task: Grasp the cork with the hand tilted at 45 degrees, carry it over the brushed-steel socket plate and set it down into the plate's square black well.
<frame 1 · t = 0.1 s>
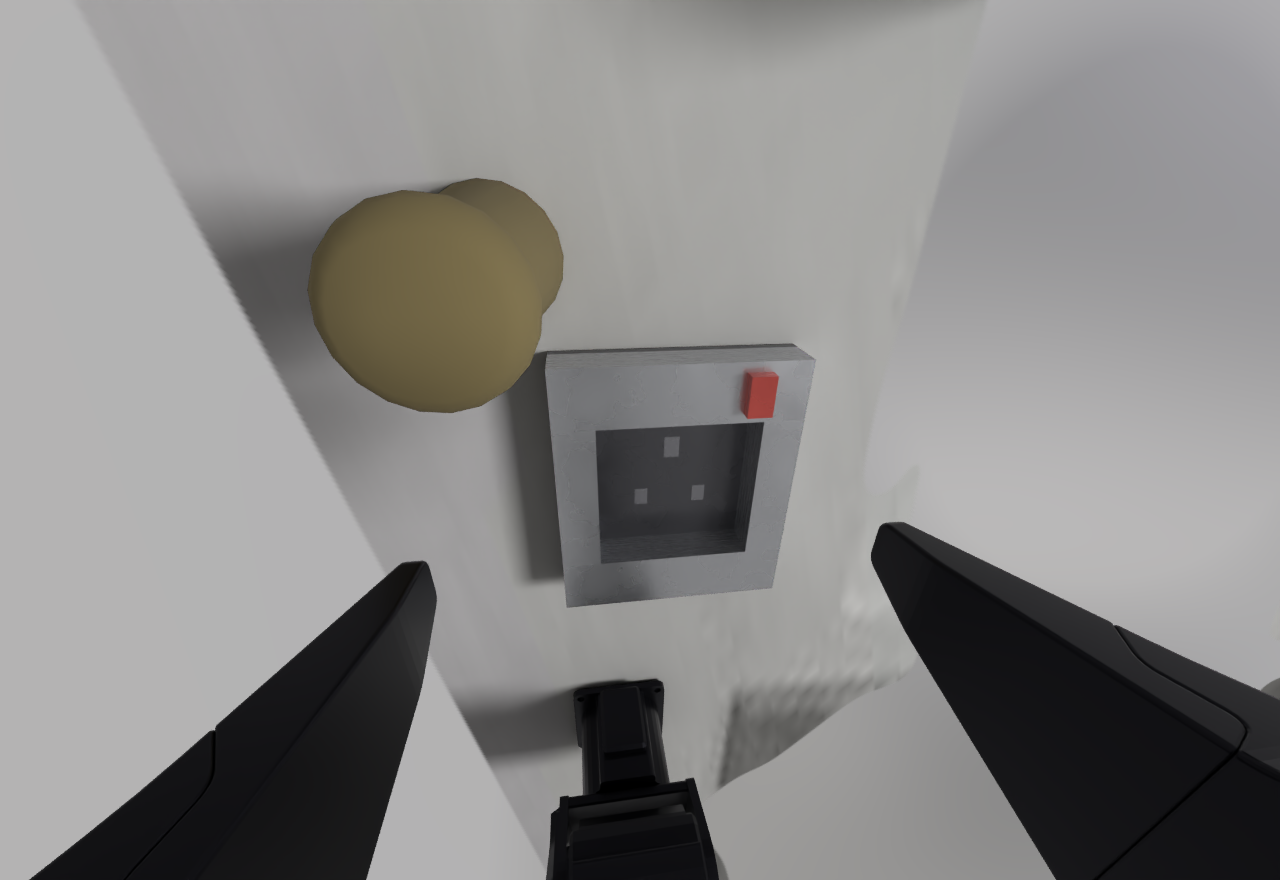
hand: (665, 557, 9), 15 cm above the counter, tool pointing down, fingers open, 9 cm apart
socket plate: (668, 471, 26), on the counter
cork: (491, 259, 20), on the counter
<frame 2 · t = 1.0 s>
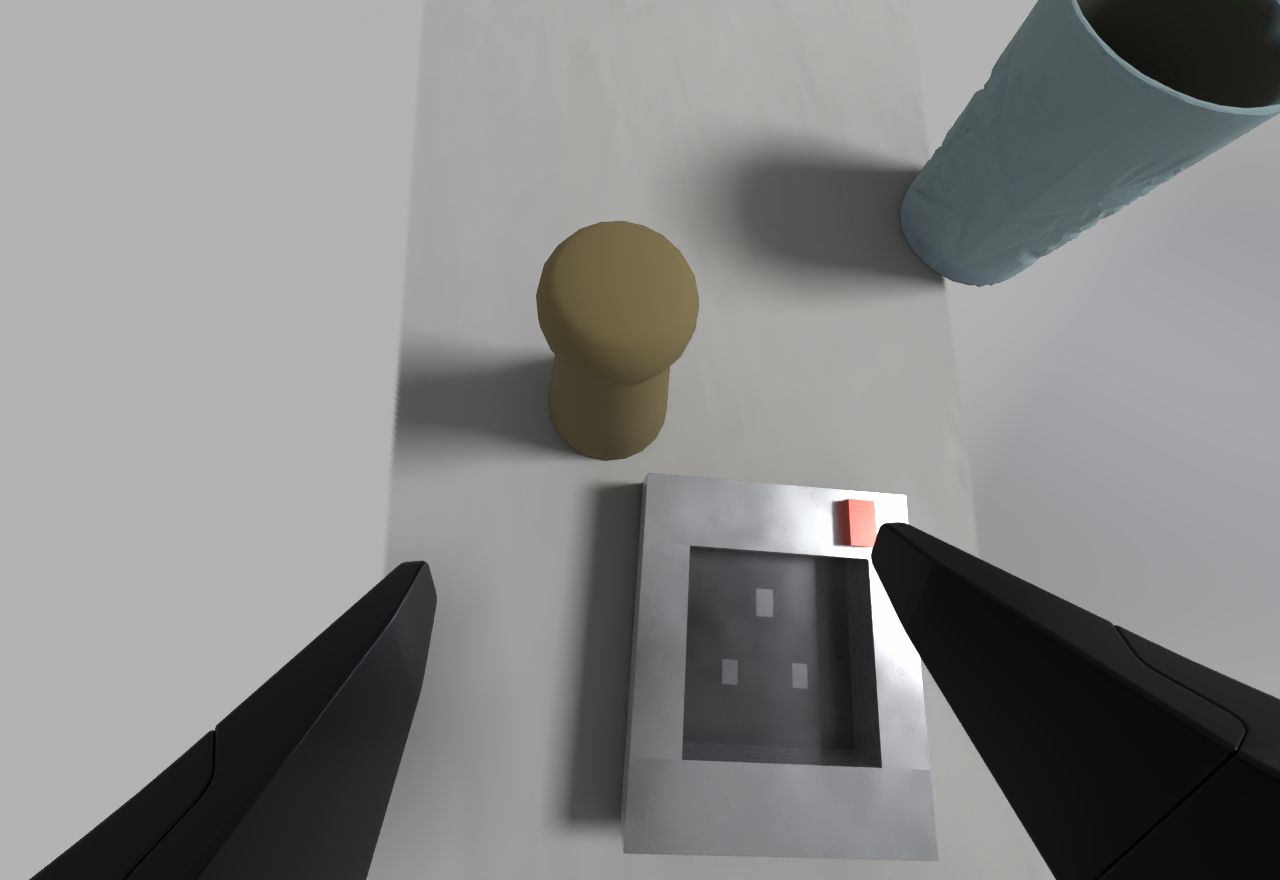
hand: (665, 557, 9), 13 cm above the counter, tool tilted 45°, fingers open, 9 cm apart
socket plate: (760, 643, 22), on the counter
cork: (608, 404, 24), on the counter
teal cup: (957, 230, 30), on the counter
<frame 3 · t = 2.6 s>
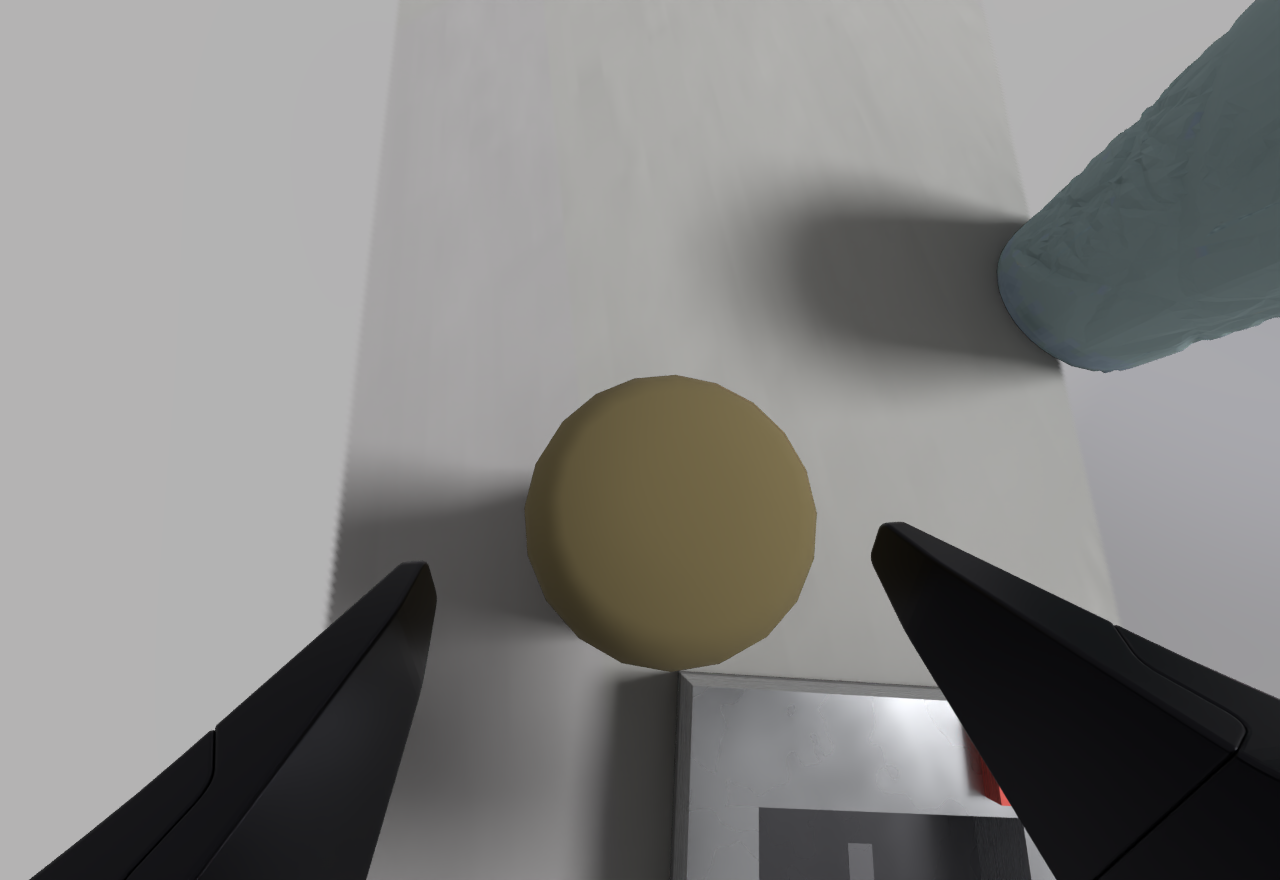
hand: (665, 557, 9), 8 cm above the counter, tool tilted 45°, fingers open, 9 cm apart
cork: (630, 550, 18), on the counter
teal cup: (1068, 297, 23), on the counter
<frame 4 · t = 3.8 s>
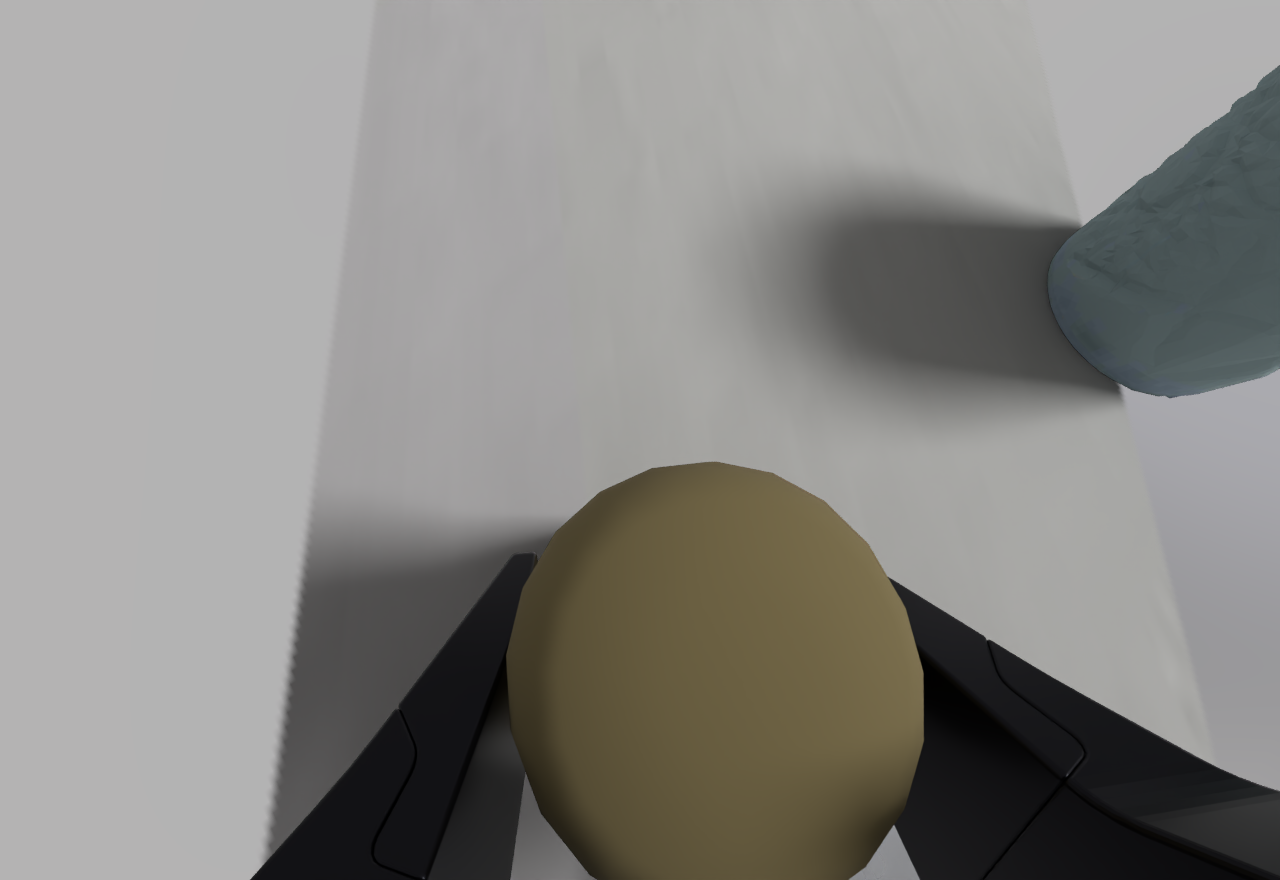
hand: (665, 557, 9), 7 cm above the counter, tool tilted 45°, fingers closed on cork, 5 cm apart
cork: (639, 610, 15), on the counter, touching gripper
teal cup: (1126, 312, 21), on the counter
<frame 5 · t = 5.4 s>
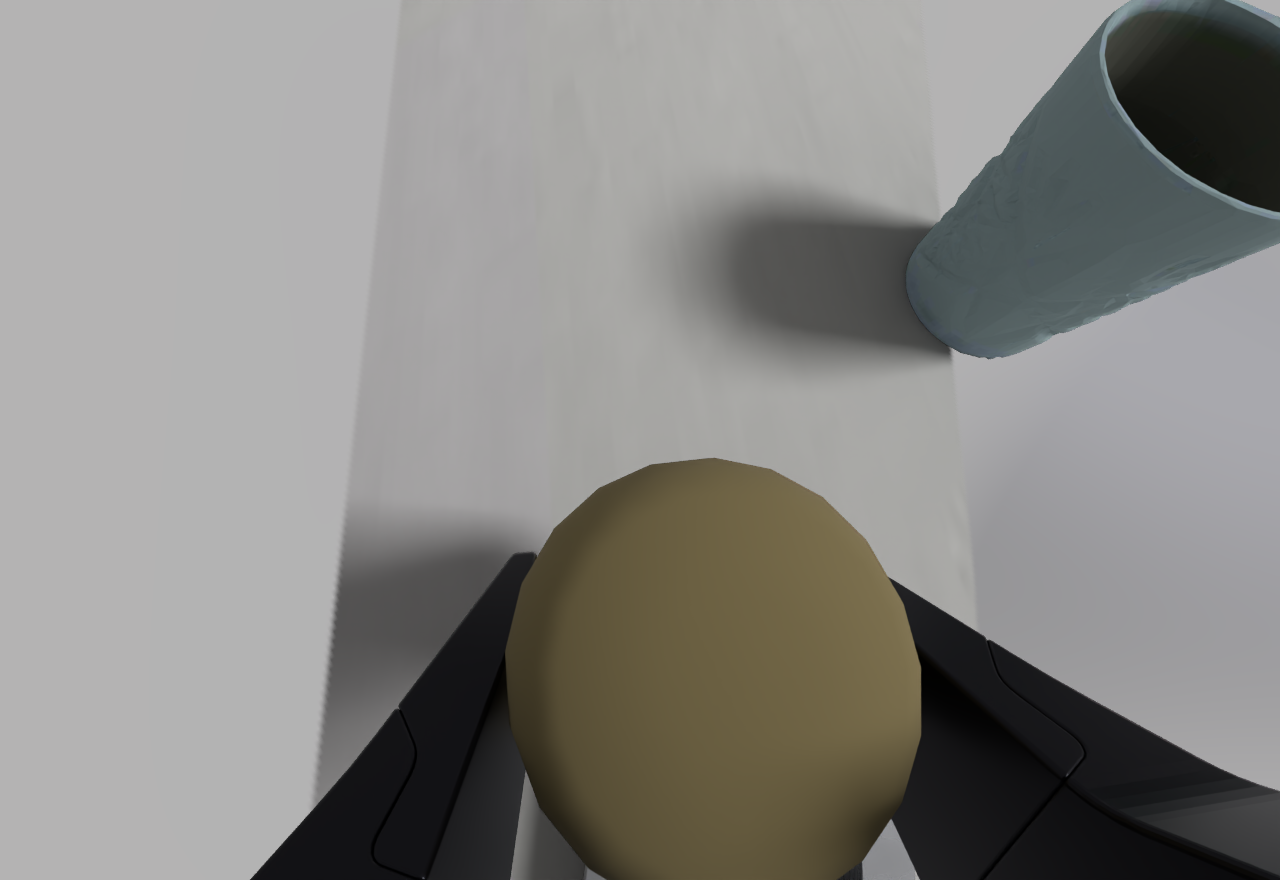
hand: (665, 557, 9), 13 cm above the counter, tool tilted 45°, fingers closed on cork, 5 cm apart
socket plate: (737, 769, 20), on the counter
cork: (638, 608, 15), point 6 cm above the counter, touching gripper
teal cup: (967, 294, 27), on the counter
when the fingers open (9 cm above the counter, at t = 7.3 s): cork drops 2 cm, resting on socket plate.
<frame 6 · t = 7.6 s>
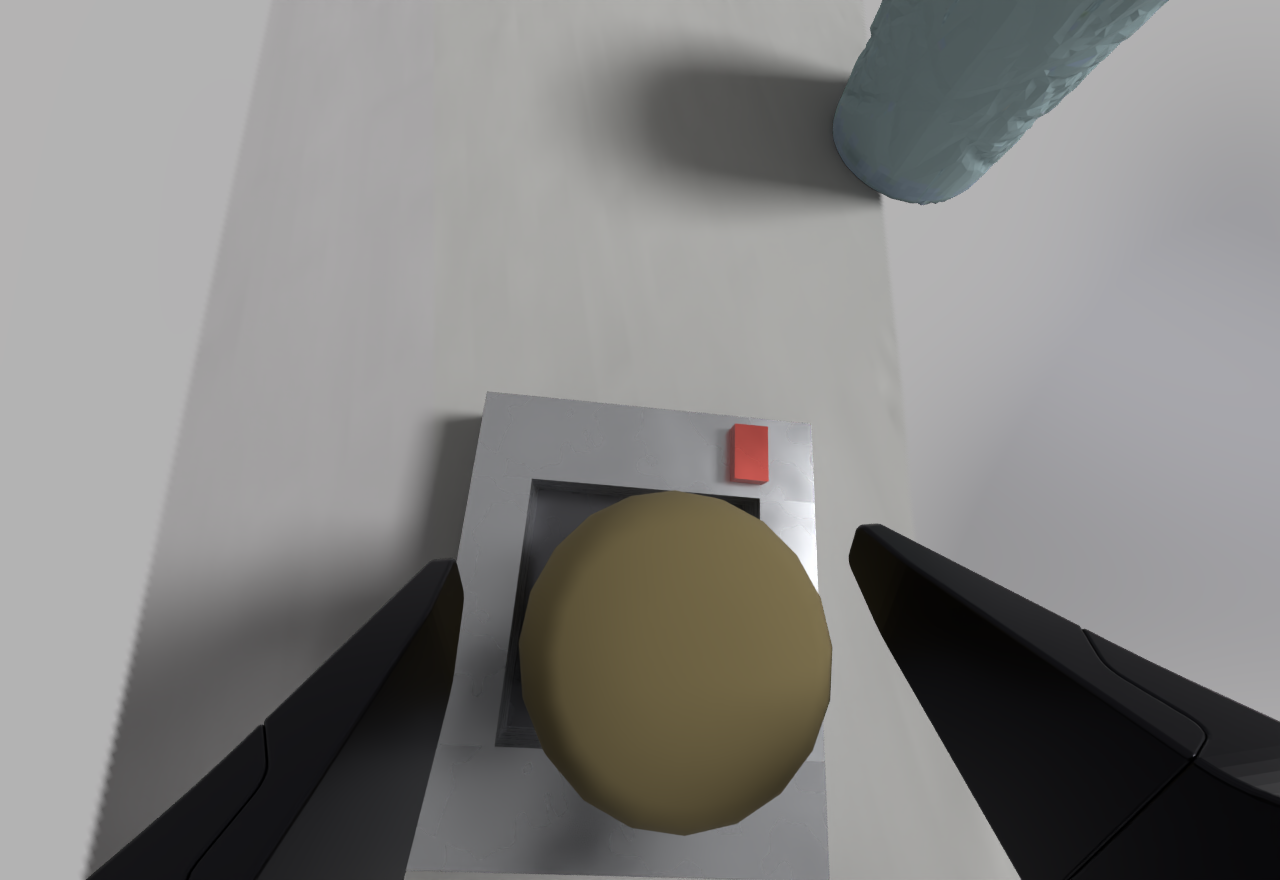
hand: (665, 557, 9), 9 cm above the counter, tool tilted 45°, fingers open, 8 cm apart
socket plate: (633, 606, 17), on the counter
cork: (629, 608, 17), resting on socket plate
teal cup: (899, 145, 26), on the counter
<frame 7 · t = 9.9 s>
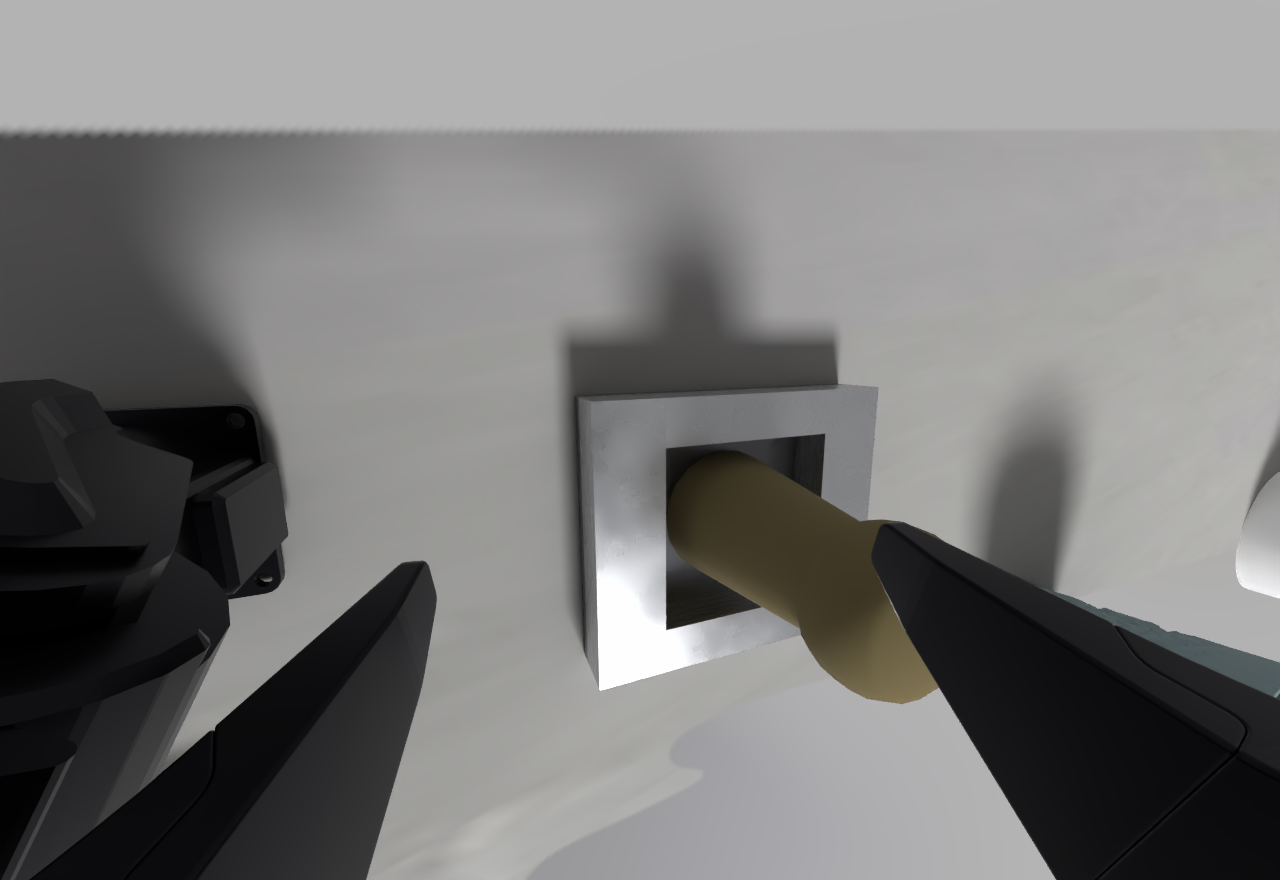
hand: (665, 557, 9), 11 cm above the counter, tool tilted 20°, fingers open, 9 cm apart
honey pot: (1265, 529, 48), on the counter
socket plate: (719, 511, 23), on the counter
cork: (721, 510, 23), resting on socket plate
teal cup: (1009, 633, 34), on the counter
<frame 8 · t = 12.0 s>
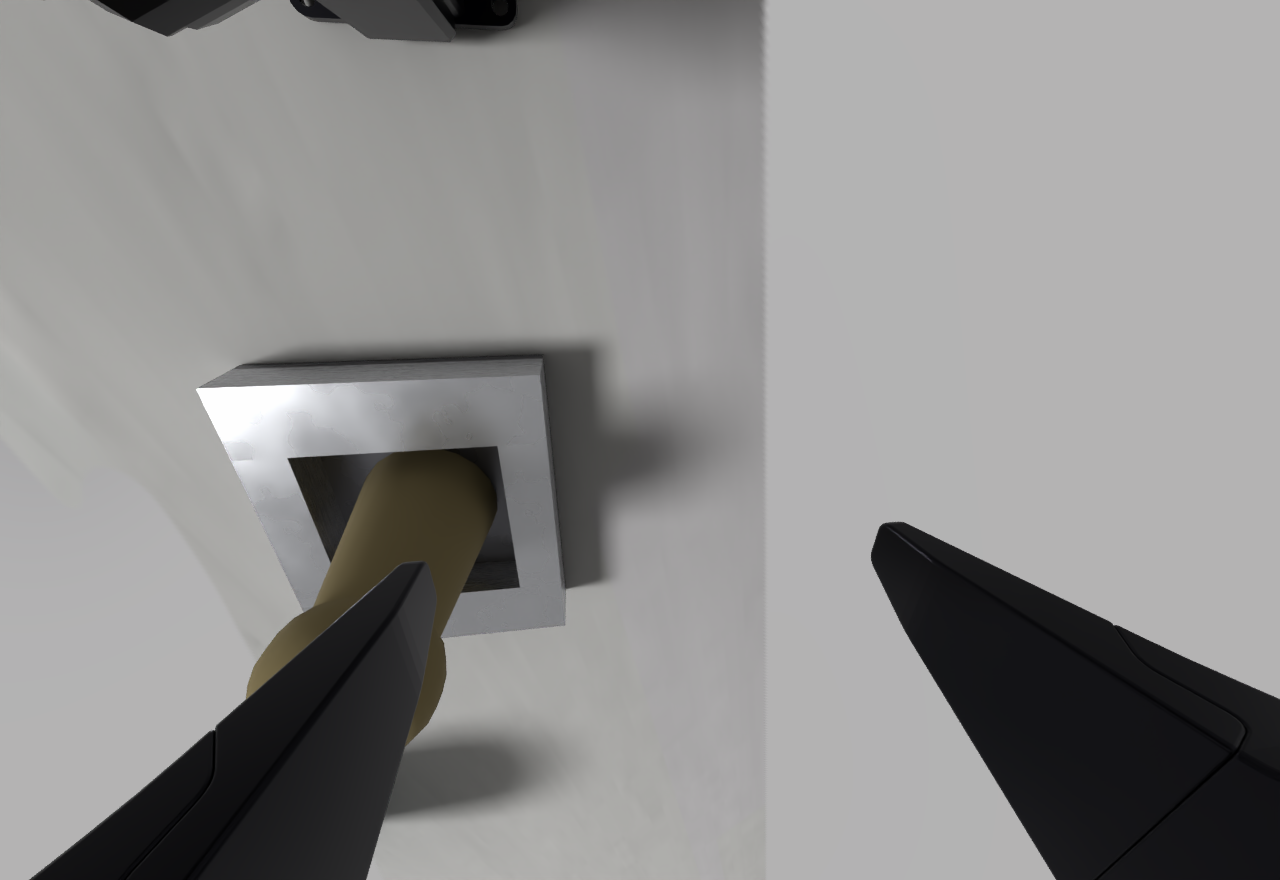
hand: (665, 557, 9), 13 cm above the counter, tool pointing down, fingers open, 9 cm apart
socket plate: (431, 497, 23), on the counter
cork: (433, 499, 23), resting on socket plate
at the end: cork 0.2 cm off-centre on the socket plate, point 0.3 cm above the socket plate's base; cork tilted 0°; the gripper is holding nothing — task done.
